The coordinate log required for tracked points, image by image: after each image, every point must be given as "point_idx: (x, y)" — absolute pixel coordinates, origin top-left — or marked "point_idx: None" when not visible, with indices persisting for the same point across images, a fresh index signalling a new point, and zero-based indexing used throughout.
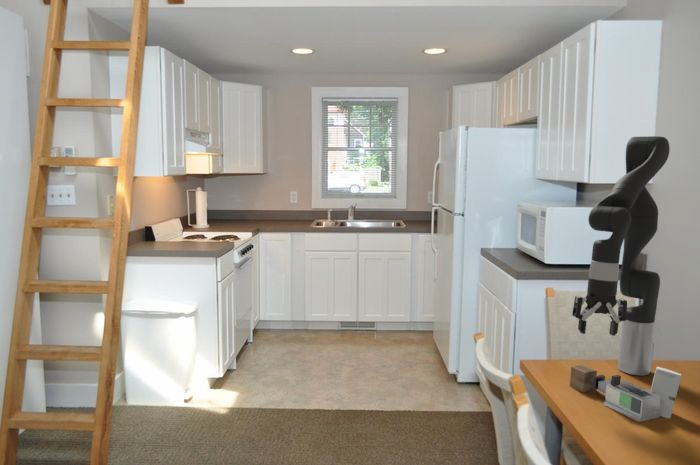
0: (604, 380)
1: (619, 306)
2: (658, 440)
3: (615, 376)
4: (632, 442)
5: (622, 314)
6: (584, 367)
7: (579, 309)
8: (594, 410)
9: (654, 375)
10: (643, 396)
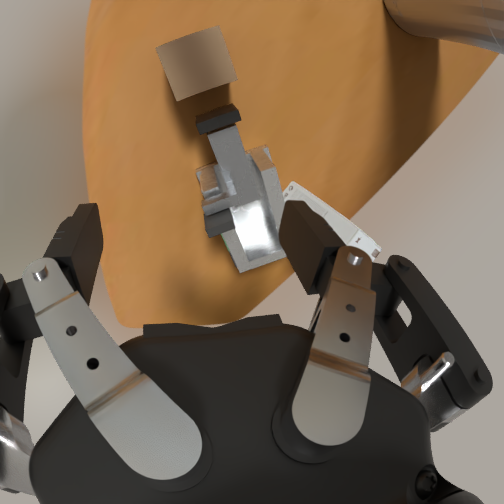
0: (229, 132)
1: (405, 382)
2: (221, 291)
3: (214, 234)
4: (175, 298)
5: (380, 341)
6: (205, 51)
7: (14, 388)
8: (158, 198)
9: (338, 220)
10: (274, 224)
